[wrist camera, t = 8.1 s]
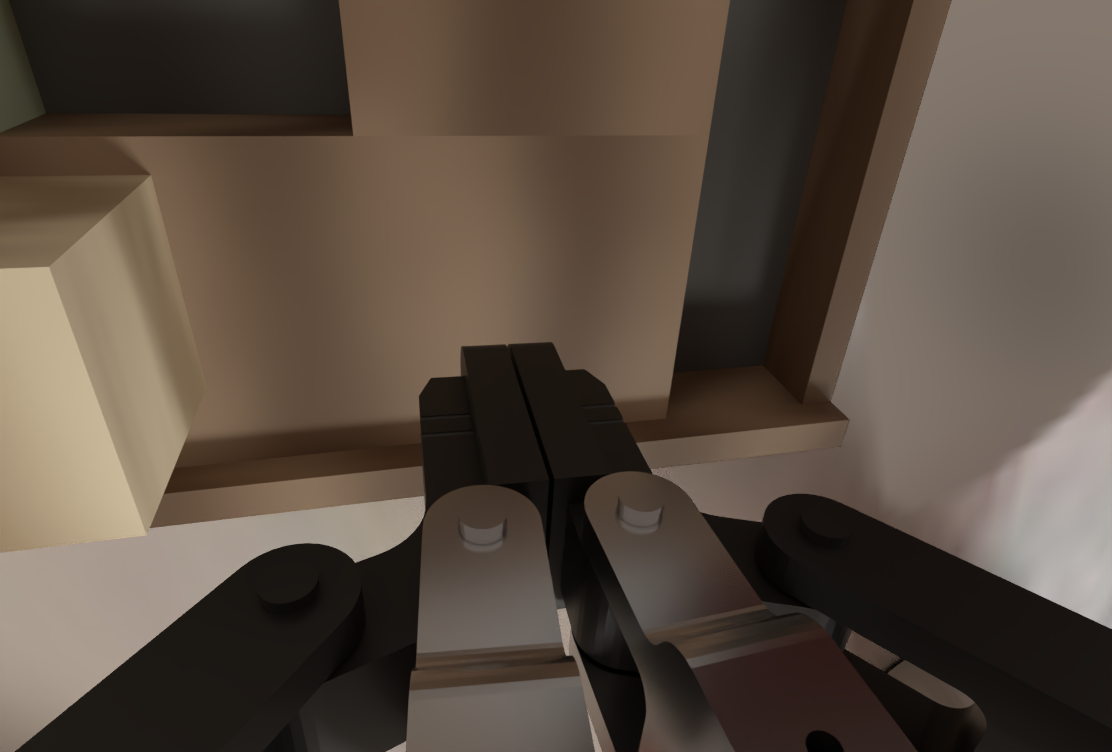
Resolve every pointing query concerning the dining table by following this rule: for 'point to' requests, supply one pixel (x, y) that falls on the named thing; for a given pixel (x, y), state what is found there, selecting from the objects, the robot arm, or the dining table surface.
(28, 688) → the dining table surface
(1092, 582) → the dining table surface
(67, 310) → the maple block
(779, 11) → the wooden divided tray
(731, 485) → the dining table surface
